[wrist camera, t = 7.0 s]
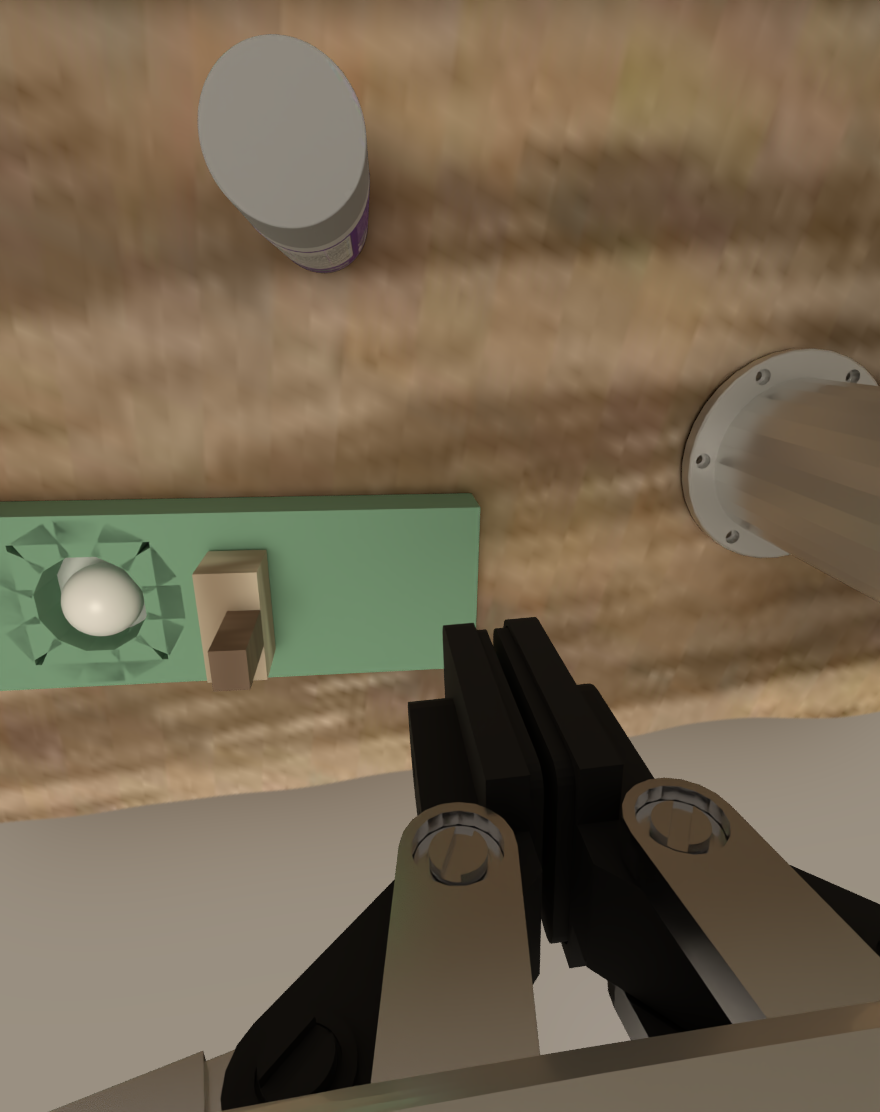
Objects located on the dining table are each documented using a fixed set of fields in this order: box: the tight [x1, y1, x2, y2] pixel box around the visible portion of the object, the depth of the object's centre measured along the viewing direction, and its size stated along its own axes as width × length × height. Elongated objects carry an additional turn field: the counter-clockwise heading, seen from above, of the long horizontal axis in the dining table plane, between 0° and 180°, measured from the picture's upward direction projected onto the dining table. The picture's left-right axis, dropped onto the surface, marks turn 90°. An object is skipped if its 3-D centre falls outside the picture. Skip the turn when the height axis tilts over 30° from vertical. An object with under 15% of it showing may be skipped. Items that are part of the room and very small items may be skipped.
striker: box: [192, 550, 276, 691], centre depth 30 cm, size 3×6×7 cm, turn 179°
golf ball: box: [61, 563, 144, 636], centre depth 34 cm, size 4×4×4 cm
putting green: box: [0, 493, 480, 691], centre depth 35 cm, size 28×10×3 cm, turn 89°
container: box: [198, 34, 370, 273], centre depth 23 cm, size 5×5×15 cm
